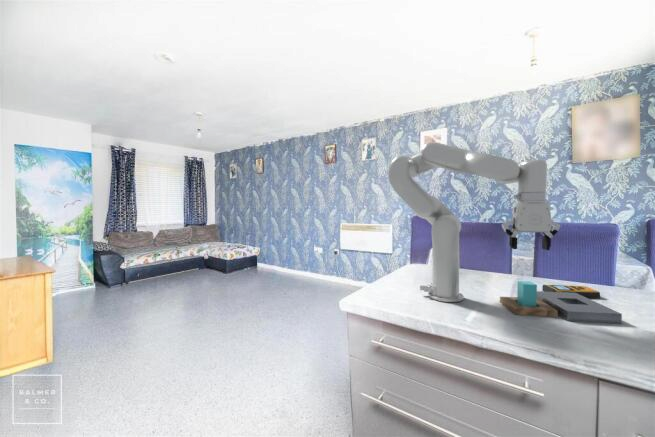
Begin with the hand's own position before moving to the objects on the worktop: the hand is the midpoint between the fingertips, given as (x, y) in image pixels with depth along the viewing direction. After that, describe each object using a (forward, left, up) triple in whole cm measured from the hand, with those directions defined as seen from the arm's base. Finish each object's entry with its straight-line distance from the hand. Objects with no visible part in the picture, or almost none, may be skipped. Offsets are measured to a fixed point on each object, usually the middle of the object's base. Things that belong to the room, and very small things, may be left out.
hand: (529, 249), depth 95 cm
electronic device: (+23, +18, -21) cm, 36 cm away
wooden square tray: (-1, -1, -20) cm, 20 cm away
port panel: (+13, 0, -20) cm, 24 cm away
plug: (-1, -1, -20) cm, 20 cm away
